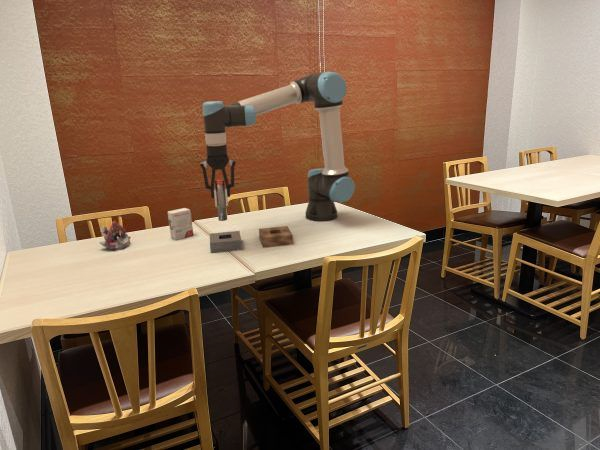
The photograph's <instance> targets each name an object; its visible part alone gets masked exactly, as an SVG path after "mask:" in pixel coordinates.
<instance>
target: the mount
mask: <svg viewBox="0 0 600 450" xmlns="http://www.w3.org/2000/svg"><path fill="white" fill-rule="evenodd" d="M258 233H259V236H258V238H259V241H260V243H261V247H262V248H272V247H281V246H290V244H292V245H294V239H293V233H292V232H291V230H290V228H289V226H288V225H284V226H283V225H282V226H273V227H263V228H258Z"/></svg>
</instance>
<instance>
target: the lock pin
mask: <svg viewBox="0 0 600 450" xmlns="http://www.w3.org/2000/svg"><path fill="white" fill-rule="evenodd" d="M214 188H215V189H216V196H217V207H216V208H217V219H218V221H219V222H225V221H227V220H228V212H227V211H228V210H227V209H228V208H227V206H226V199H225V188H226V185H225V180H224V179H215V182H214Z"/></svg>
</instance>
